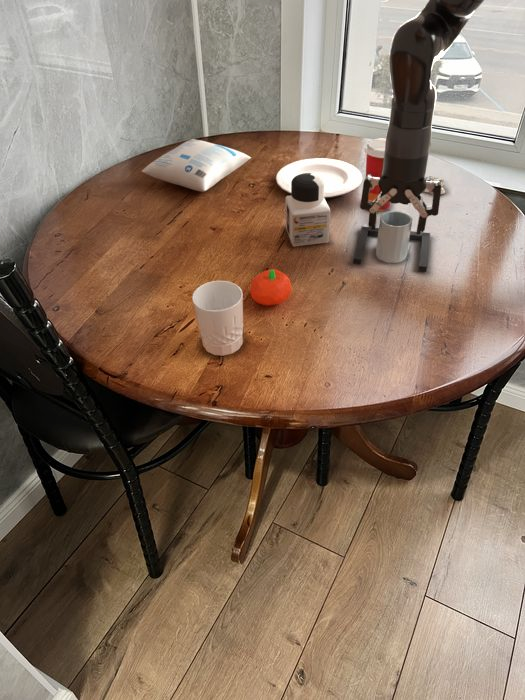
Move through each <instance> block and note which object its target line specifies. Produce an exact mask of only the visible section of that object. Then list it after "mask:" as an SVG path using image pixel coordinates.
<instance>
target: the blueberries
mask: <svg viewBox="0 0 525 700" xmlns="http://www.w3.org/2000/svg"><path fill="white" fill-rule="evenodd" d="M437 179H440V180H441V181H442V184H441V194H440V196H441V195H444V194H445V193H446V190H445V188H444V187H445V182H444V179H442V178H438V177H433V176H430V175H429V176H425V180H426V182H435V181H436V180H437ZM423 193H429V190H428V189H425V190H424V191H423Z"/></svg>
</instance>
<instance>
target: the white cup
mask: <svg viewBox="0 0 525 700" xmlns="http://www.w3.org/2000/svg"><path fill="white" fill-rule="evenodd" d="M243 296H244V295H243V290H242V288H241V287H240V286H239V285H238V284H236V283H234V282H232V281H229V280H212V281H208V282H205V283H203V284H200V286H198V287H197V288H196V289H195V290H194V291H193V293H192V295H191V298H192V299H191V300H192V305H193V309H194V314H195V318H196V323H197V327H198V332H199V334H200V336H201V342H202V346H203V348H204V350H205V351H206V352H208V353H209V354H212V355H213V356H222V357H223V356H229V355H233V354H234V353H236V352H237V351H239V350H240V349H241V347H242V345H243V343H244V340H243V332H244V306H243V305H244V297H243Z"/></svg>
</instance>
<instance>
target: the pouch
mask: <svg viewBox="0 0 525 700" xmlns="http://www.w3.org/2000/svg"><path fill="white" fill-rule="evenodd" d="M251 158H252V157H251V156H249V155H248V154H246V153H244V152H242V151H239V150H236V149H234V148H230V147H228V146H224V145H220V144H216V143H212V142H210V141H209V142H208V141H205V140H200V139H194V138H192V139H188V140H186V141H185V142H182V143H180V144H179V145H178V146H176V147H175V148H173V149H171V150H170V151H168V152H165V153H164V154H162V155H161V156H159V157H157V158H156V159H154V160H153V161H152V162H150V163H149V164H148V165H146V166H145V167H144V168H143V169H142V170H141V173H144V174H146V175H148V176H150V177H151V178H154V179H157V180H161V181H164V182H167V183H170V184H172V185H176V186H180V187H184V188H186V189H190V190H192V191H195V192H196V191H197V192H200V193H204V192H207V191H208V190H209V189H211V188H212V187H214V186H215V185H216V184H217V183H219V182H220V181H221V180H223V179H224V178H225V177H227V176H229V175H231V174H232V173H233V172H234V171H236V170H238V169H239V168H240V167H241V166H243V165H244V164H246V163H247V162H248V161H250V159H251Z"/></svg>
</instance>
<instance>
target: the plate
mask: <svg viewBox="0 0 525 700" xmlns="http://www.w3.org/2000/svg"><path fill="white" fill-rule="evenodd" d="M303 173H313V174H317V175H320V176H321V177H322V178H323V179H324V181H325V184H324V199H332V198H338V197H342V196H345V195H347V194H349V193H352V192H354V191H355V190H356V189H358V188H359V187H360V186H361V184H362V182H363V175H362V173H361V171H360V170H359V169H358V168H357V167H356V166H354V165H352V164H350V163H349V162H345V161H342V160H338V159H333V158H332V159H331V158H323V157H321V158H318V157H317V158H316V157H315V158H306V159H305V158H304V159H300V160H296V161H293V162H291V163H288V164H286V165H285V166H283V167H282V168H280V170H279V171H278V172H277V173H276V176H275V181H276V183H277V186H278V187H279V188H280V189H281V190H283V191H285V192H286V193H288V194H290V195H291V181H292V179H293V178H294V177H295V176H297V175H299V174H303Z"/></svg>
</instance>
